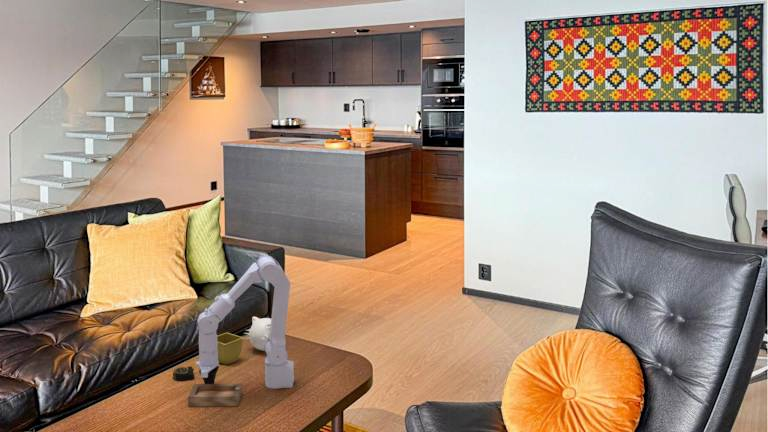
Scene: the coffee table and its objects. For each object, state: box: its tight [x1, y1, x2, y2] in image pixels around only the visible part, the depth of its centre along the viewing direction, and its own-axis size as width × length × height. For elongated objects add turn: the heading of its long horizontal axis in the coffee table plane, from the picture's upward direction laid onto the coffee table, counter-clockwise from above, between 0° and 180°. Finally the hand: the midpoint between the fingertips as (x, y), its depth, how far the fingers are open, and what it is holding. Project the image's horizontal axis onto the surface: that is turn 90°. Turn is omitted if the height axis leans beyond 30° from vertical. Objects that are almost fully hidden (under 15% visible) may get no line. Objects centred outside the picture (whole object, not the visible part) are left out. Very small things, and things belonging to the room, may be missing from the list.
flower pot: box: [217, 332, 244, 366], centre depth 242 cm, size 9×9×9 cm
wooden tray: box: [187, 383, 243, 407], centre depth 211 cm, size 15×9×4 cm, turn 93°
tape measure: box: [172, 366, 195, 382], centre depth 228 cm, size 7×7×4 cm
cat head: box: [243, 316, 271, 352], centre depth 253 cm, size 15×13×12 cm
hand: (209, 389), depth 217 cm, fingers closed
